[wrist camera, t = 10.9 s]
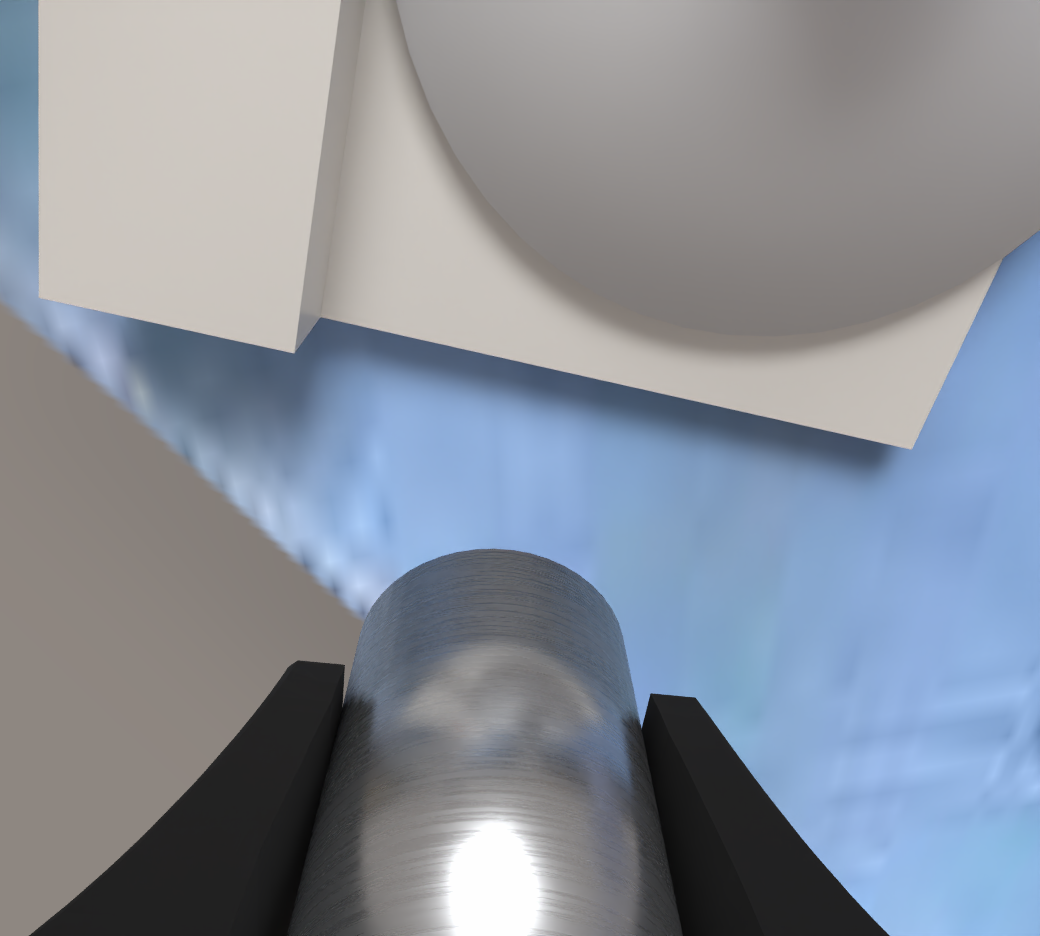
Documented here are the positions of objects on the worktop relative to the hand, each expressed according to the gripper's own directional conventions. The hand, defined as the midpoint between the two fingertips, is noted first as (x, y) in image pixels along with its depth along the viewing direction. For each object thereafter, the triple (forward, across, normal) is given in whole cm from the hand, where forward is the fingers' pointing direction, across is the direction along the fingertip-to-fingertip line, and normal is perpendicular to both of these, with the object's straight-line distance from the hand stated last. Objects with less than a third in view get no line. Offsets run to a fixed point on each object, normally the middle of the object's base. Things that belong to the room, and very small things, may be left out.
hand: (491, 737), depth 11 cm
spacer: (+2, 0, 0) cm, 2 cm away
